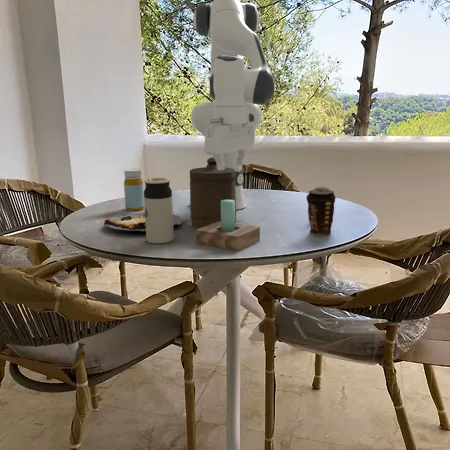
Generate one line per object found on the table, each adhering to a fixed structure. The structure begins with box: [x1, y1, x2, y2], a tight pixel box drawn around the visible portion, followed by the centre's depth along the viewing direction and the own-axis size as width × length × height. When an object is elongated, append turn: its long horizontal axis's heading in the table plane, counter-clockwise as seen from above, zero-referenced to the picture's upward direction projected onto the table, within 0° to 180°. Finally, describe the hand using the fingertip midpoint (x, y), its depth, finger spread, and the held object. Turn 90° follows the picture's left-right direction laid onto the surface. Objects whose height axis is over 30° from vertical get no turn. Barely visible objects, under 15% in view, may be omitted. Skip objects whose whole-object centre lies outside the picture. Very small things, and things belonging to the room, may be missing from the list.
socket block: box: [195, 221, 261, 252], centre depth 140 cm, size 14×12×4 cm
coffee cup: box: [306, 189, 337, 237], centre depth 146 cm, size 9×8×13 cm
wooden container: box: [189, 157, 237, 230], centre depth 157 cm, size 15×15×22 cm
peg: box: [221, 200, 235, 232], centre depth 139 cm, size 4×4×12 cm
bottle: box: [123, 168, 145, 212], centre depth 182 cm, size 7×7×15 cm
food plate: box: [103, 211, 183, 233], centre depth 159 cm, size 25×23×4 cm
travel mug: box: [143, 177, 175, 245], centre depth 141 cm, size 8×8×18 cm
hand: (230, 167), depth 137 cm, fingers open, 8 cm apart
